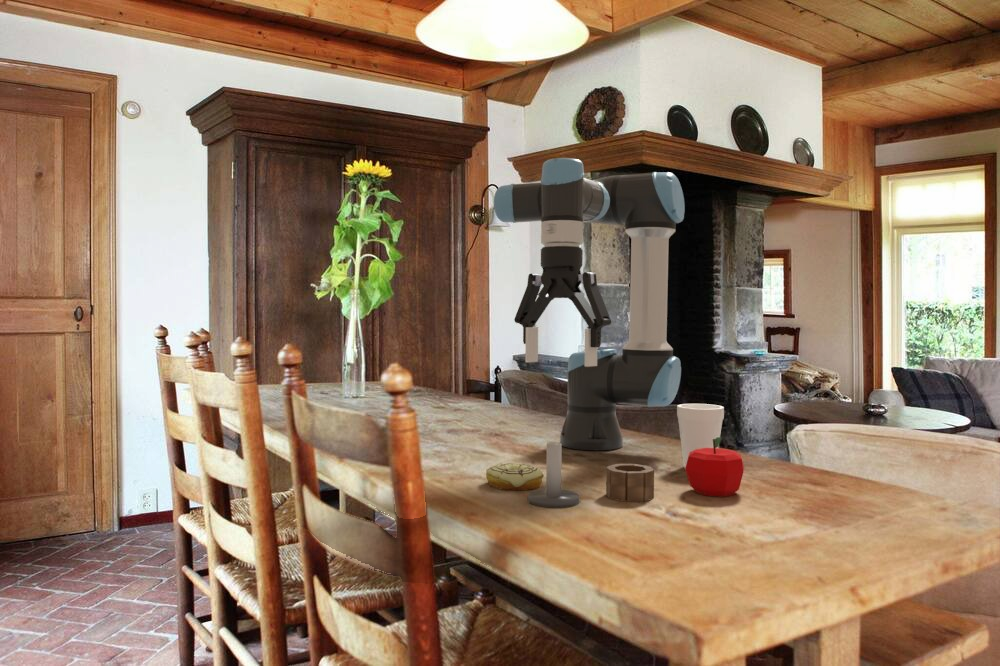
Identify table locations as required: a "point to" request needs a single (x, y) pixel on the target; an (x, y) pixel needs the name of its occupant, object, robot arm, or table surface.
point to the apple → (714, 470)
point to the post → (553, 483)
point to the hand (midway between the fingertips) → (560, 364)
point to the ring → (630, 482)
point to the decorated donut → (514, 476)
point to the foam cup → (698, 426)
